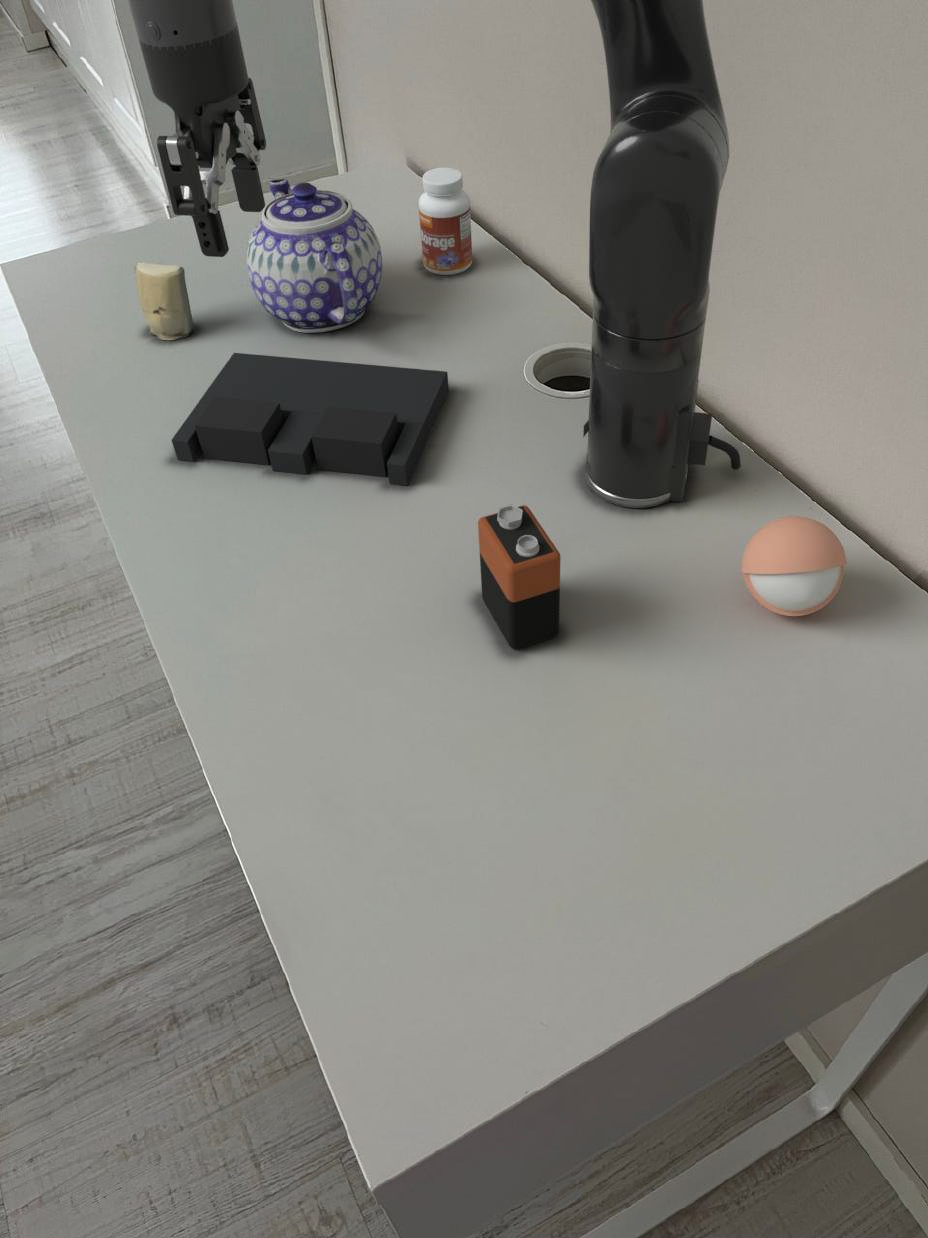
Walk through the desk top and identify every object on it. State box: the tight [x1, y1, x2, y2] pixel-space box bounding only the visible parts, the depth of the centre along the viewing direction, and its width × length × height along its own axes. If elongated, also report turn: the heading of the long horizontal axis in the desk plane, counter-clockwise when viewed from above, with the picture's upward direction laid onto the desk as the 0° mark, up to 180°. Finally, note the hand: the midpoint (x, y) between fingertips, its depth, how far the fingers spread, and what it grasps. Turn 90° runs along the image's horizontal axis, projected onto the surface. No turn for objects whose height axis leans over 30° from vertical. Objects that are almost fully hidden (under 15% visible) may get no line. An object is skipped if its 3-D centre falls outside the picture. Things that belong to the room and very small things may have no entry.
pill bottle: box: [418, 167, 473, 276], centre depth 123 cm, size 6×6×11 cm
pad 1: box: [195, 397, 284, 466], centre depth 102 cm, size 7×5×4 cm
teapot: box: [246, 178, 383, 334], centre depth 116 cm, size 25×15×15 cm, turn 21°
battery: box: [477, 504, 561, 650], centre depth 81 cm, size 4×7×10 cm, turn 21°
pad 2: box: [312, 407, 399, 478], centre depth 99 cm, size 7×5×4 cm
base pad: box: [171, 352, 450, 487], centre depth 104 cm, size 24×16×2 cm, turn 76°
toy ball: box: [741, 515, 848, 617], centre depth 81 cm, size 8×8×8 cm
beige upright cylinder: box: [133, 261, 195, 341], centre depth 117 cm, size 6×5×8 cm
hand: (235, 231), depth 89 cm, fingers open, 8 cm apart
